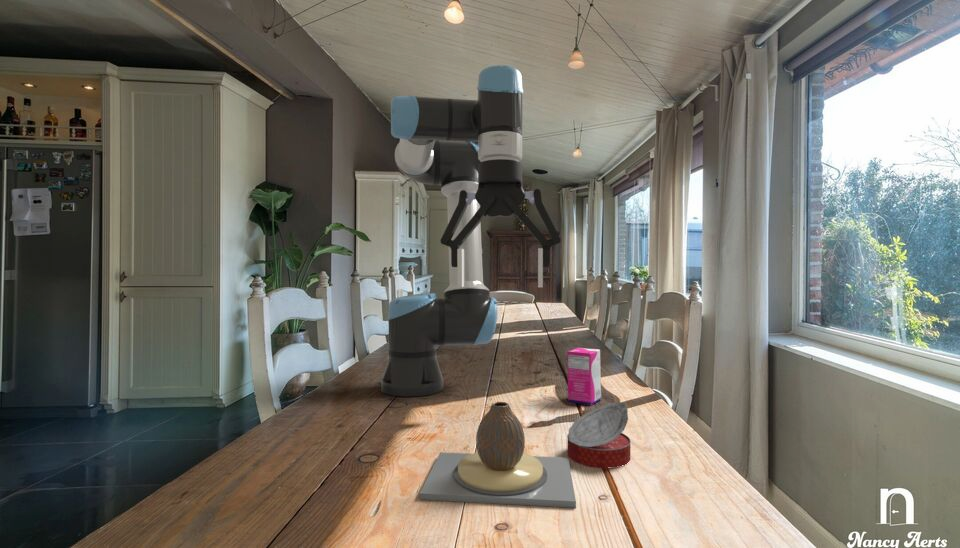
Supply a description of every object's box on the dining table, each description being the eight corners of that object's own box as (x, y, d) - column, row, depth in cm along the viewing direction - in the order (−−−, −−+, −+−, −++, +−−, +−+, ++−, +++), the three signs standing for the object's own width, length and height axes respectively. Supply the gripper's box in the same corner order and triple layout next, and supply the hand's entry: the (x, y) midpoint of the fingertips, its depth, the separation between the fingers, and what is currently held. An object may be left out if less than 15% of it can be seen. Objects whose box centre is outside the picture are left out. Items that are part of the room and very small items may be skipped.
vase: (504, 480, 64) (504, 414, 64) (466, 466, 69) (465, 404, 69) (534, 464, 70) (534, 403, 70) (497, 452, 74) (496, 394, 74)
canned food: (625, 497, 74) (631, 451, 69) (560, 480, 78) (561, 435, 73) (633, 440, 83) (638, 397, 78) (574, 427, 87) (575, 385, 82)
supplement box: (577, 396, 114) (577, 347, 114) (601, 400, 110) (602, 349, 110) (566, 401, 109) (566, 350, 109) (591, 406, 106) (591, 353, 105)
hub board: (440, 457, 77) (440, 444, 77) (568, 462, 75) (568, 450, 75) (419, 499, 63) (419, 484, 63) (575, 507, 61) (575, 491, 61)
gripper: (423, 159, 81) (423, 287, 81) (576, 155, 78) (576, 288, 78) (432, 168, 88) (432, 285, 88) (572, 164, 85) (572, 286, 86)
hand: (500, 287), depth 83 cm, fingers open, 13 cm apart
